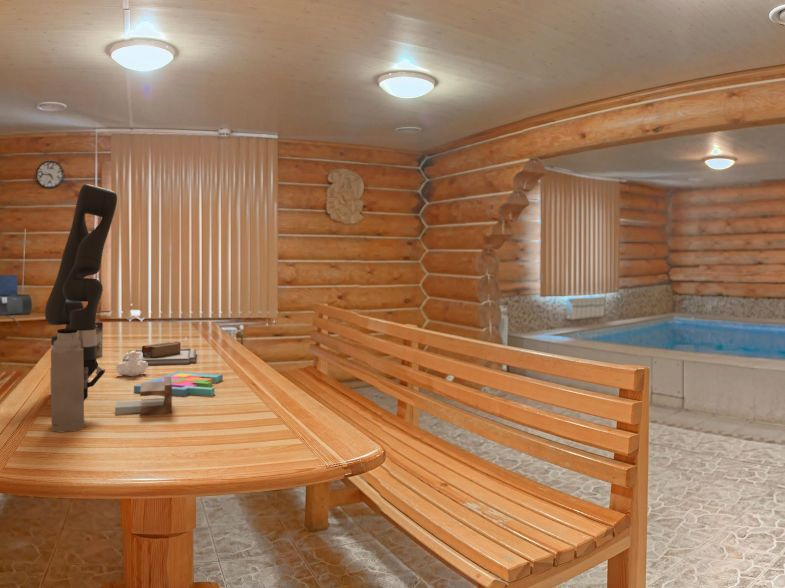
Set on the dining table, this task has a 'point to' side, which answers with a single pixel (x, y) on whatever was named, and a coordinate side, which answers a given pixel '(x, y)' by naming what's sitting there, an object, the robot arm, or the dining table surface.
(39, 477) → the dining table surface
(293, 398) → the dining table surface
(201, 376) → the tetris game
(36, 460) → the dining table surface
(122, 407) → the tile
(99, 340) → the coffee box
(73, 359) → the thermos bottle
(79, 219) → the robot arm
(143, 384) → the shelf
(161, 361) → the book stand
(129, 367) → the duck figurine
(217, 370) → the dining table surface
